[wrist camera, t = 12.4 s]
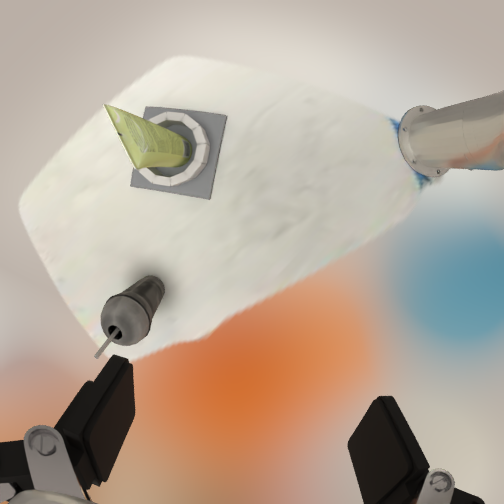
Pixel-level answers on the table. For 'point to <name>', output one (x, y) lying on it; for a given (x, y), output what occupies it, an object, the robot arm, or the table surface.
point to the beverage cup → (131, 313)
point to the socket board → (202, 158)
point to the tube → (148, 141)
